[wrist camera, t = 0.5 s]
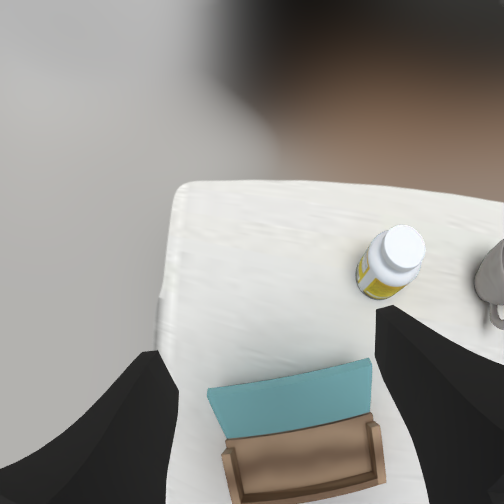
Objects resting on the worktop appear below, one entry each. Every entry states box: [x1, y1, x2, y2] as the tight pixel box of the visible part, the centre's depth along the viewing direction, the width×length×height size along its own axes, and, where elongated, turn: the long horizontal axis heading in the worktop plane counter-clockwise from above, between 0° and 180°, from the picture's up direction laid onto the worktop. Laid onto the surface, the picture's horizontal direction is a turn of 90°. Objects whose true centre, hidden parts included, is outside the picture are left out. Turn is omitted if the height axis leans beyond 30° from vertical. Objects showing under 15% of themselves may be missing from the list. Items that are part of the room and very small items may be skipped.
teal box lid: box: [207, 358, 372, 439], centre depth 30 cm, size 1×17×8 cm
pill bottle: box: [356, 225, 425, 300], centre depth 33 cm, size 6×6×12 cm
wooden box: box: [221, 412, 386, 504], centre depth 29 cm, size 9×18×5 cm, turn 100°
